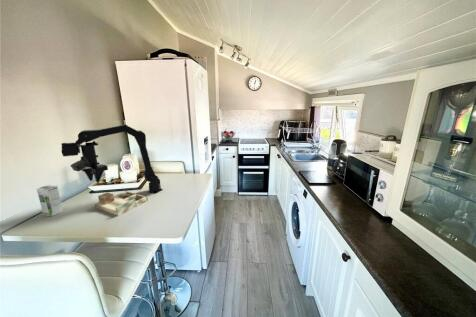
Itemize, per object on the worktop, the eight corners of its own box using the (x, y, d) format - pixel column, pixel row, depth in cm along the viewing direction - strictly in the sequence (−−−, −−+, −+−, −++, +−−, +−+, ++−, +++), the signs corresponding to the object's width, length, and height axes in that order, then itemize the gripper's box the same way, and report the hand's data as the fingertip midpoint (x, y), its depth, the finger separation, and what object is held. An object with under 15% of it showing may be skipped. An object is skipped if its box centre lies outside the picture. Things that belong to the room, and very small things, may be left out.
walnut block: (108, 198, 108) (107, 192, 107) (114, 200, 106) (113, 193, 105) (99, 202, 104) (98, 195, 103) (105, 204, 102) (103, 197, 101)
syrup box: (42, 215, 96) (35, 188, 92) (56, 209, 102) (49, 184, 98) (51, 216, 95) (43, 190, 91) (64, 210, 100) (57, 185, 97)
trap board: (126, 194, 119) (125, 188, 118) (148, 200, 111) (147, 193, 110) (95, 208, 103) (93, 200, 102) (118, 216, 95) (116, 207, 94)
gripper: (61, 155, 98) (67, 183, 102) (82, 159, 91) (88, 189, 95) (85, 151, 108) (90, 177, 112) (106, 154, 101) (110, 182, 104)
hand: (94, 181), depth 105 cm, fingers open, 6 cm apart
